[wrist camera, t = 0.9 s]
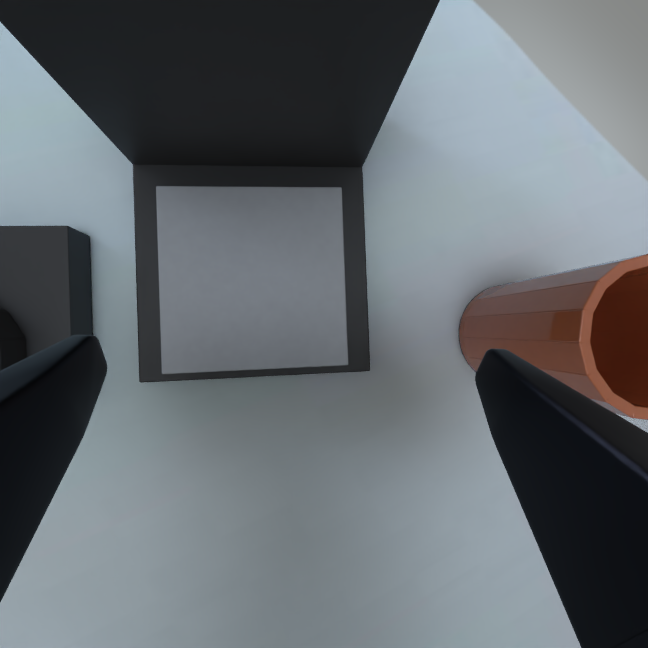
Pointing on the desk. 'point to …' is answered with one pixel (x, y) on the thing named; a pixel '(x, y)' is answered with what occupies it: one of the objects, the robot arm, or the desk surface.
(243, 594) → the desk surface
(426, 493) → the desk surface
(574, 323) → the cup
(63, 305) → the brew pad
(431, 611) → the desk surface
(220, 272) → the coffee maker
